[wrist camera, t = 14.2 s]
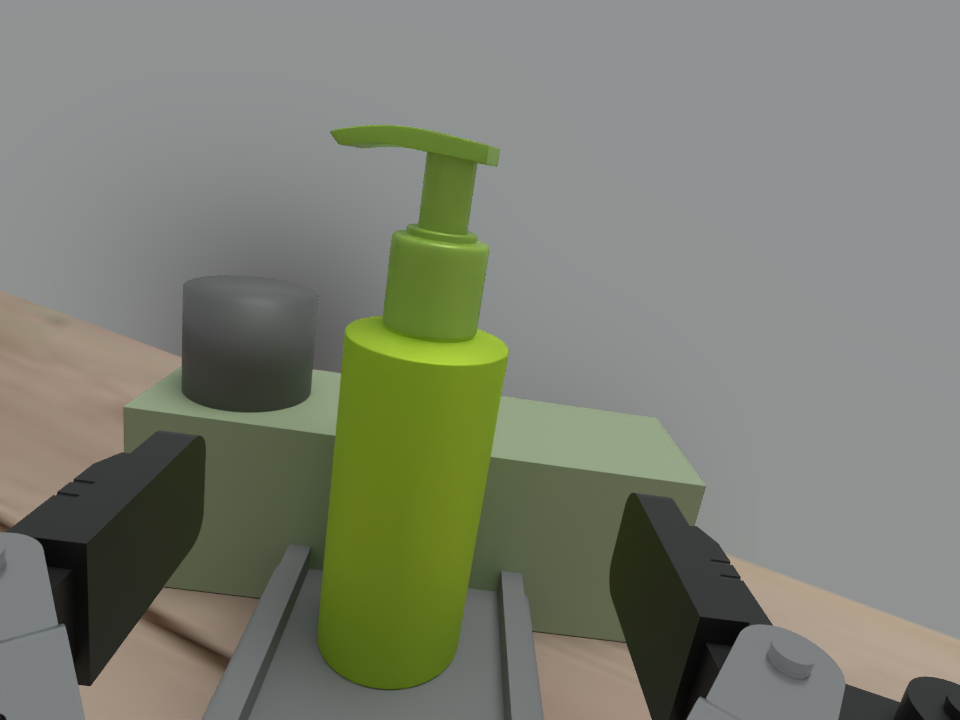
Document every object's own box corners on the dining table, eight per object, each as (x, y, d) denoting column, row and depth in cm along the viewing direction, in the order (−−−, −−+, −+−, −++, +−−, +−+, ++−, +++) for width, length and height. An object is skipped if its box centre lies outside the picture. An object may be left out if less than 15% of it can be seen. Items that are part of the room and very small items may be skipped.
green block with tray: (754, 890, 21) (903, 522, 17) (-64, 810, 19) (-122, 384, 15) (622, 551, 39) (678, 335, 35) (196, 496, 37) (202, 264, 33)
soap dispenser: (332, 569, 30) (374, 126, 24) (472, 608, 29) (553, 153, 23) (265, 656, 24) (300, 107, 18) (435, 709, 23) (530, 142, 17)
